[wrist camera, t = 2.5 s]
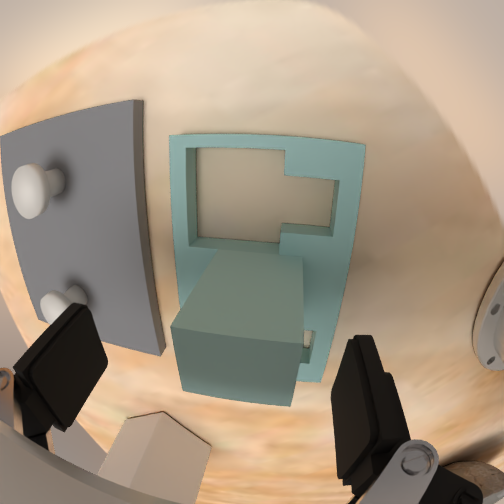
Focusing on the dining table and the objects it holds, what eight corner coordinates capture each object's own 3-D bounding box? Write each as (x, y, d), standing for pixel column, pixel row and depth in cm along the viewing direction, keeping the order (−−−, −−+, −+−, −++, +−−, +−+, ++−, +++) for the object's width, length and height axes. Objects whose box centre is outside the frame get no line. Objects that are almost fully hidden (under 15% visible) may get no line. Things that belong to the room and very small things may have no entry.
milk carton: (163, 409, 23) (92, 574, 6) (212, 445, 25) (167, 595, 7) (125, 417, 25) (61, 548, 8) (170, 450, 27) (123, 573, 10)
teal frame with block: (358, 143, 12) (424, 158, 5) (320, 367, 18) (321, 464, 11) (180, 134, 13) (83, 146, 6) (194, 352, 19) (157, 439, 12)
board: (142, 100, 13) (99, 96, 9) (165, 347, 19) (144, 384, 16) (9, 134, 14) (-28, 142, 11) (44, 313, 21) (20, 336, 17)
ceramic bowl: (520, 412, 19) (541, 465, 10) (485, 467, 26) (494, 505, 17) (374, 474, 25) (377, 538, 16) (381, 505, 32) (382, 546, 23)
